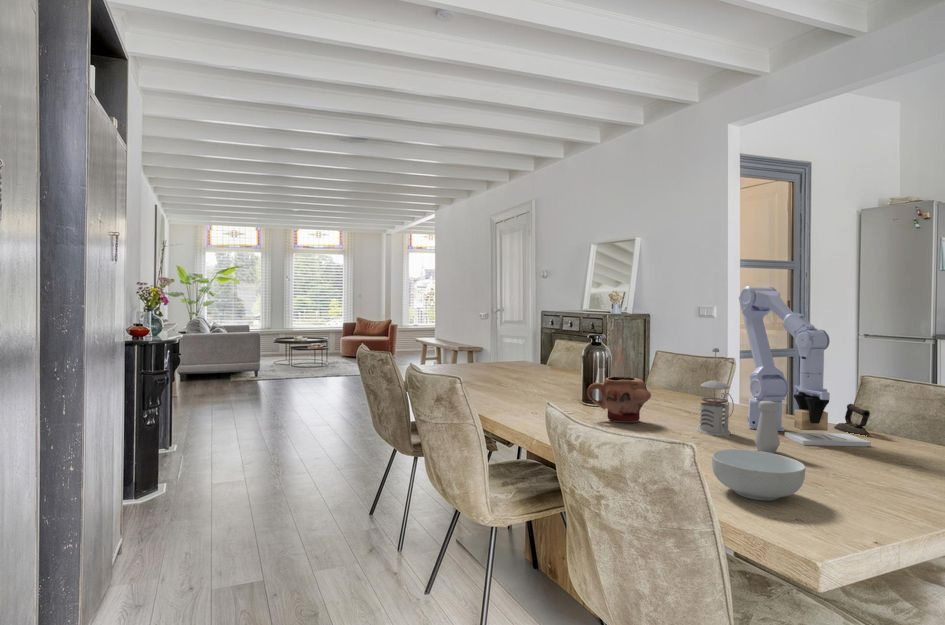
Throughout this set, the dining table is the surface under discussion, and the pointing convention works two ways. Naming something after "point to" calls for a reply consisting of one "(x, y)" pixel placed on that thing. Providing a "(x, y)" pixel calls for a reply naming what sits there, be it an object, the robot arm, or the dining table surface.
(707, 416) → the french press
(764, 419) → the salt shaker
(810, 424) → the block
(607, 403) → the brown clay mug
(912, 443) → the dining table surface
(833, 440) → the board
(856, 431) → the clothes iron
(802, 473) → the cereal bowl
